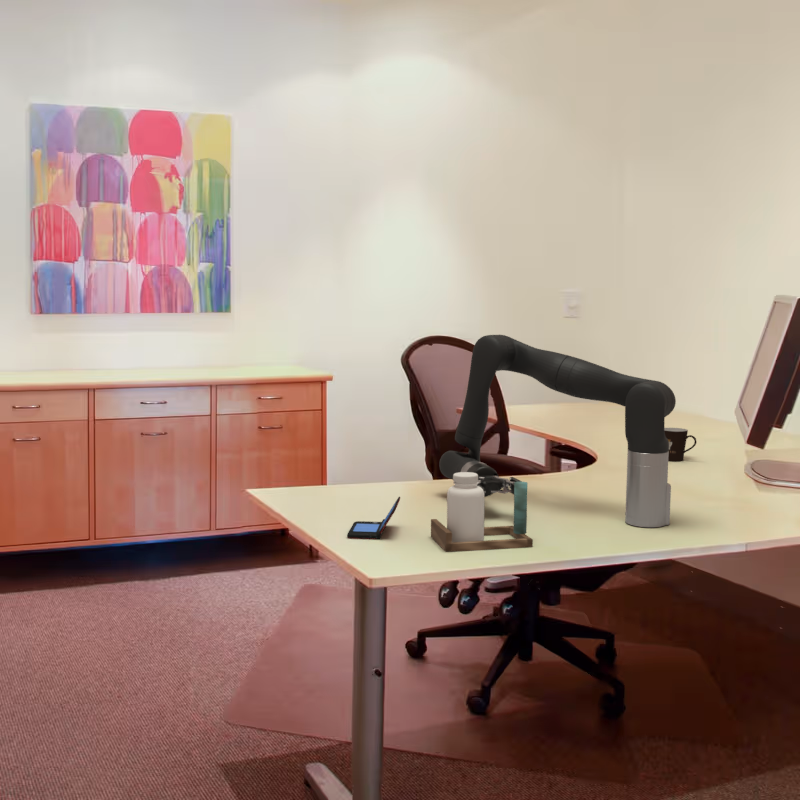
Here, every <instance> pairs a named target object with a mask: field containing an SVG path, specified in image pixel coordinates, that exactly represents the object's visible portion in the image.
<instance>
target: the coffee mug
mask: <svg viewBox="0 0 800 800" xmlns="http://www.w3.org/2000/svg"><path fill="white" fill-rule="evenodd" d="M664 432H665V436H666V438H667V439H668V441H669V451H668V452H669V454H668V462H669V463H670V462H674V463H675V462H676V463H679V462H683V461H684V457H685V456H684V455H685V453H687V452H689V451H690V450H692V449H693V448H694V447H695V446H696V445H697V438H696V437H695V436H694V435H693V434H692V435H691V434H689V435H688V433H689V429H687V428H682V427H664ZM689 438H692V439H693V442H694V443H693V445H692V446H690V447H689V448H686V444H687V440H688V439H689Z"/></svg>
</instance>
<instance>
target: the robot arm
mask: <svg viewBox="0 0 800 800" xmlns="http://www.w3.org/2000/svg"><path fill="white" fill-rule="evenodd" d="M498 371H499V372H500V371H506V372H507V371H508V372H513V373H517V374H521V375H525V376H528V377H530V378H533V379H534V380H536V381H537V382H538V383H540V384H542V385H543V386H545V387H547V388H548V389H550V390H553V391H555V392H558V393H561V394H564V395H568V396H569V397H574V398H578V399H583V400H590V401H598V402H606V403H612V404H616V405H619V406H622V407H624V434H625V438H626V441H627V459H626V463H627V464H626V486H625V487H626V488H625V489H626V490H625V512H624V515H625V519H624V520H625V523H626V524H628V525H631V526H635V527H642V528H659V527H661V528H662V527H664V526H667V525H668V526H669V525H670V524H671V523H670V521H671V518H670V516H671V495H672V494H671V493H672V485H671V484H670V483H668V480H669V479H668V477H669V476H668V474H669V461H668V454H669V452H668V451H669V441H668V439H667V438H666V436H665V432H664V428H665V418H666V417H667V416H669V415H670V414H671V413H672V412H673V411H674V409H675V407H676V404H677V403H676V395H675V394H674V393H675V392H674V391H673V390H672V389H671V388H670V386H668V384H665V383H664V382H662V381H659V380H653V379H647V378H643V377H636V376H632V375H627V374H624V373H620V372H617V371H615V370H612V369H609V368H608V367H605V366H601V365H600V364H597V363H594V362H590V361H588V360H585V359H582V358H578V357H575V356H571V355H568V354H565V353H560V352H556V351H550V350H547V349H546V350H545V349H541V348H537V347H534V346H531V345H529V344H526V343H524V342H522V341H520V340H517V339H515V338H513V337H510V336H507V335H505V334H487V335H483V336H481V337H480V338H479V339H477V341H476V342H475V343H474V346H473V349H472V354H471V360H470V368H469V375H468V382H467V388H466V389H467V390H466V395H465V400H464V403H463V408H462V410H461V411H462V412H461V413H460V418H459V421H458V423H457V424H458V425H457V427H456V430H455V435H454V441H455V442H456V443H457V444H459V445H461V446H463V447H465V448H467V449H468V453H466V452H461V451H457V450H448V451H446V452H444V453H443V454H442V455H441V457H440V459H439V463H438V465H439V466H438V467H439V471H440V473H441V474H442V475H443V476H444V477H445V478H447V479H450V480H453V474H455V473H459V472H472V473H476V474H478V481H477V482H478V484H477V486H479V487H481V488H482V489H483V491H484V498H485V497H489V496H491V495H493V494H495V493H499V494H508V493H509V494H512V495H514V482H519V481H521V482H523V481H522V480H520V479H518V478H515V477H513V476H511V477H509V478H505V477H500V476H499V474H498V472H497V471H496V470H495V468H493V467H491V466H489V465H487V463H484V462H481V447H482V440H483V437H484V435H485V431H486V428H487V424H488V419H489V409H490V407H489V405H490V404H489V395H490V388H491V385H492V382H493V380H494V377H495V375H496V374H497V372H498Z"/></svg>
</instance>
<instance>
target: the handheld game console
mask: <svg viewBox="0 0 800 800" xmlns="http://www.w3.org/2000/svg"><path fill="white" fill-rule="evenodd" d="M400 500H401V496H398V497H397V499H396V500H395V502H394V504H393V505H392V507H391V509H389V512H388V513H387V515H386V516H385V518H384V519H382V520H381V521H364V520H363V521H360V520H359V521H358V520H357V521H353V523H352V524H351V527H350V529H349V530H348V532H347V534H346V535H347V538H348V539H351V540H352V539H353V540H356V539H357V540H381V539H382V536H383V532H384V531H385V529H386V527H387V525H388V523H389V521H390V520H391V518H392V517H393V515H394V513H395V512H396V510H397V508H398V505H399V504H400Z"/></svg>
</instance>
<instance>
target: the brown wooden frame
mask: <svg viewBox="0 0 800 800" xmlns="http://www.w3.org/2000/svg"><path fill="white" fill-rule="evenodd" d="M521 481H522V480H520V481H519V482H514V494H513V495H514V496H513V525H500V526H484V537H486V536H487V537H488V536H502V535H504V536H505V535H510V536H511V537H512V538H508V539H505V538H504V539H494V540H493V539H492V540H491V539H489V540H487V539H486V540H484V541H469V542H452V532H451V531H449V530H448V529H447V526H445V525H444V524H442V522H441V521H439V519H437V518H433V519H432V518H431V519H430V538H431V539H432V540H433V541H434V542H435V543H437V545H438V546H439V547H441V549H443V551H445V553H450V552H467V551H468V552H469V551H483V550H484V551H485V550H501V549H505V550H506V549H518V548H533V547H534V546H533V543H534V542H533V541H534V540H533V538H531V537H530V536H529V535H527V530H528V528H527V527H528V524H527V523H528V522H527V521H528V519H527V518H528V482H527V481H522V482H521Z"/></svg>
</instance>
